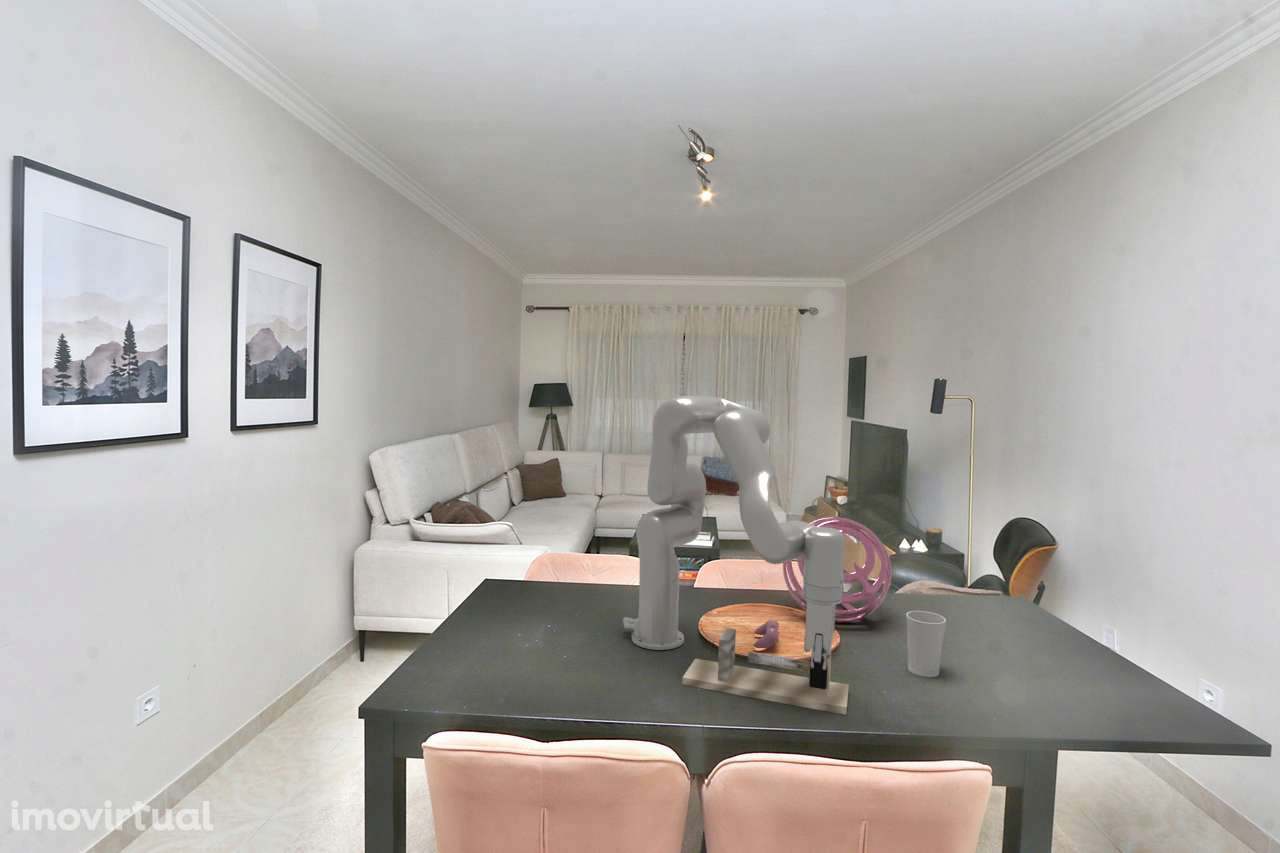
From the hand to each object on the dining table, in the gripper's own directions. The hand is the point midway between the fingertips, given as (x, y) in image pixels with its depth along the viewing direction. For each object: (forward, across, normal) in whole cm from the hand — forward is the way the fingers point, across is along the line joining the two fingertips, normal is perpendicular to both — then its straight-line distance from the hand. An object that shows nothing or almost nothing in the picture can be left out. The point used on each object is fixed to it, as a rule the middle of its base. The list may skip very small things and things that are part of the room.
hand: (818, 681), depth 127 cm
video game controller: (+4, -23, -14) cm, 27 cm away
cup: (+3, -22, +20) cm, 30 cm away
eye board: (+3, 0, -10) cm, 11 cm away
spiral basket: (+3, -49, 0) cm, 49 cm away
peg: (0, 0, -6) cm, 6 cm away
